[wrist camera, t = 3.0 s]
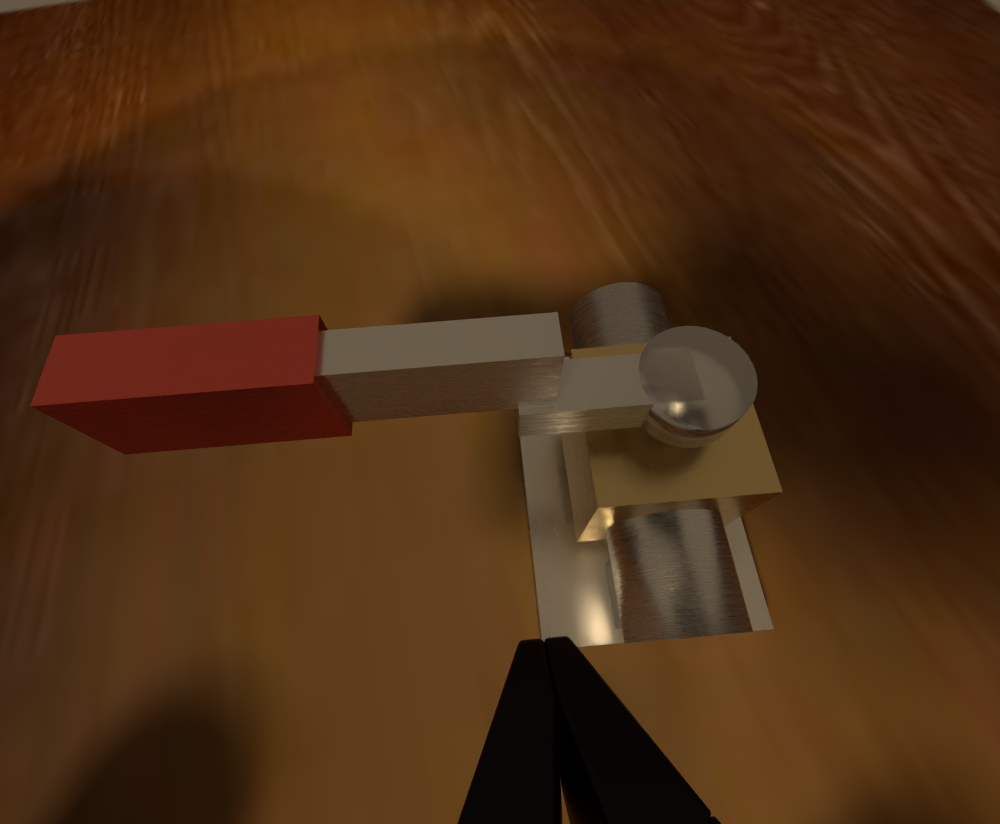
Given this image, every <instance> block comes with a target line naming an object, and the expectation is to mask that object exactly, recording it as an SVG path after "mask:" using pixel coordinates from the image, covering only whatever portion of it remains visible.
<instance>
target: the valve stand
mask: <svg viewBox="0 0 1000 824" xmlns="http://www.w3.org/2000/svg"><path fill="white" fill-rule="evenodd" d="M569 324H570V330H571V335H572V341H573V347H574V349H571V352H570V357H564V360H565V359H577V358H589V357H602V356H614V355H626V354H639V353H642V351H643V350H644V348H645V346H646V345H647V343H648V342H649V341H650V340H651V339H652V338H653V337H655V336H656V335H657V334H659V333H661V332H663V331H665V330H667V329H670V328H669V325H668V321H667V318H666V314H665V310H664V307H663V303H662V299H661V296H660V294H659V293H658V291H657V290H656V289H654V288H653V287H651V286H649V285H647V284H643V283H638V282H621V283H614V284H610V285H606V286H603V287H601V288H598V289H596V290H594V291H592V292H590V293H588V294H587V295H585V296H584V297H582V298H581V299H580V300H579V301H578V302H577V303H576V304H575V305H574V306H573V308H572V310H571V312H570V315H569ZM729 338H730V339H731V337H729ZM519 446H520V455H521V464H522V474H523V483H524V493H525V502H526V511H527V521H528V530H529V540H530V549H531V558H532V568H533V577H534V586H535V596H536V605H537V615H538V624H539V633H540V639H542V640H543V641H545V639H546V638H549V637H559V636H567V637H569V638H570V639H571V640H572V641H573V643H574V644H575V645H576V646H577V647H583V646H594V645H605V644H616V643H633V642H645V641H657V640H668V639H680V638H691V637H702V636H713V635H723V634H734V633H745V632H753V631H758V630H769V629H773V625H772V622H771V618H770V615H769V612H768V608H767V605H766V601H765V598H764V594H763V591H762V588H761V584H760V581H759V577H758V574H757V571H756V567H755V564H754V560H753V557H752V553H751V550H750V547H749V543H748V540H747V536H746V533H745V530H744V526H743V523H742V519H741V516H742V515H744V514H746V513H748V512H749V511H751V510H753V509H754V508H756V507H758V506H760V505H761V504H763V503H765V502H767V501H768V500H770V499H772V498H773V497H775V496H777V495H779V494H780V493H782V492H783V491H782V488H781V485H780V482H779V479H778V476H777V473H776V470H775V467H774V464H773V461H772V458H771V455H770V452H769V449H768V446H767V443H766V440H765V437H764V434H763V431H762V428H761V425H760V422H759V419H758V416H757V413H756V411H755V408H754V405H753V404H752V406H751V407H750V408H749V410H748V411H747V412H746V413H745V414H744V415H743V416H742V417H741V418H740V419H739V420H738V421H737V422H736V423H735V424H734V425H733V426H732V427H731V428H730V429H729V430H728V431H727V432H726V433H725V434H724V435H723V436H722V437H721V438H720V439H718V440H717V441H715V442H713V443H711V444H709V445H706V446H703V447H697V448H680V447H675V446H671V445H668V444H665V443H663V442H661V441H659V440H657V439H655V438H654V437H652V436H651V435H649V434H648V433H647V432H646V431H645V430H643V429H642V428H641V427H631V428H619V429H607V430H595V431H583V432H571V433H559V434H547V435H535V436H523V437H519Z"/></svg>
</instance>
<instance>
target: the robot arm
mask: <svg viewBox="0 0 1000 824" xmlns="http://www.w3.org/2000/svg"><path fill="white" fill-rule="evenodd" d="M560 780H561V784H560ZM561 786H562V791H563V795H564V800H565V804H566V809H567V813H568V817H569V821H570V824H721V823H720V822H719V821H718V819H717V818H716V817H714V816H712V817H711V812H710V810H709V809H708V808H707V806H706V805H705V804H704V803H703V801H702V800H701V799H700V798H699V796H698V795H697V794H696V793H695V792H694V790H693V789H692V788H691V787H690V785H689V784H688V783H687V782H686V780H685V779H684V778H683V777H682V776H681V774H680V773H679V772H678V771H677V769H676V768H675V767H674V766H673V764H672V763H671V762H670V761H669V760H668V758H667V757H666V756H665V755H664V753H663V752H662V751H661V750H660V748H659V747H658V746H657V745H656V744H655V742H654V741H653V740H652V739H651V737H650V736H649V735H648V734H647V732H646V731H645V730H644V729H643V727H642V726H641V725H640V724H639V723H638V721H637V720H636V719H635V718H634V716H633V715H632V714H631V713H630V711H629V710H628V709H627V708H626V707H625V705H624V704H623V703H622V702H621V700H620V699H619V698H618V697H617V695H616V694H615V693H614V692H613V691H612V689H611V688H610V687H609V686H608V684H607V683H606V682H605V681H604V679H603V678H602V677H601V676H600V675H599V673H598V672H597V671H596V670H595V668H594V667H593V666H592V665H591V663H590V662H589V661H588V660H587V659H586V657H585V656H584V655H583V654H582V652H581V651H580V650H579V649H578V647H577V646H576V645H575V644H574V643H573V641H572V640H571V639H570V638H569V637H567V636H559V637H549V638H546V639H545V641H543V640H542V639H530V640H522V641H520V642H519V644H518V646H517V649H516V652H515V655H514V658H513V661H512V664H511V667H510V670H509V673H508V676H507V679H506V682H505V685H504V688H503V691H502V694H501V697H500V699H499V702H498V705H497V708H496V711H495V714H494V717H493V720H492V723H491V726H490V729H489V732H488V735H487V738H486V741H485V744H484V747H483V750H482V753H481V756H480V759H479V762H478V765H477V768H476V771H475V774H474V776H473V779H472V782H471V785H470V788H469V791H468V794H467V797H466V800H465V803H464V806H463V809H462V812H461V815H460V818H459V821H458V824H562V802H561Z"/></svg>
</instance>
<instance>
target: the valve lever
mask: <svg viewBox="0 0 1000 824" xmlns="http://www.w3.org/2000/svg"><path fill="white" fill-rule="evenodd" d="M564 357H565V355H564V348H563V342H562V336H561V330H560V324H559V317H558V312H552V313H540V314H527V315H514V316H502V317H489V318H477V319H464V320H451V321H439V322H426V323H413V324H401V325H388V326H376V327H363V328H350V329H338V330H328V329H327V328H326V326H325V324H324V322H323V321H322V319H321V317H320V315H313V316H300V317H287V318H275V319H262V320H249V321H237V322H224V323H211V324H198V325H186V326H173V327H160V328H148V329H135V330H122V331H109V332H97V333H84V334H71V335H59V336H55V339H54V342H53V344H52V347H51V350H50V353H49V355H48V358H47V361H46V364H45V367H44V369H43V372H42V375H41V378H40V380H39V383H38V386H37V389H36V392H35V394H34V397H33V400H32V403H31V405H30V406H31V407H33V408H35V409H37V410H39V411H41V412H43V413H44V414H46V415H48V416H50V417H52V418H54V419H56V420H58V421H60V422H62V423H64V424H66V425H68V426H70V427H72V428H74V429H76V430H78V431H80V432H82V433H84V434H86V435H88V436H90V437H92V438H94V439H96V440H98V441H100V442H102V443H103V444H105V445H107V446H109V447H111V448H113V449H115V450H117V451H119V452H121V453H123V454H137V453H149V452H161V451H173V450H185V449H197V448H209V447H221V446H233V445H245V444H257V443H269V442H281V441H293V440H305V439H317V438H329V437H341V436H352V422H360V421H373V420H385V419H397V418H409V417H421V416H433V415H445V414H457V413H469V412H482V411H494V410H506V409H516V419H517V428H518V437H523V436H535V435H547V434H559V433H571V432H583V431H595V430H607V429H619V428H631V427H641V428H642V429H643V430H645V431H646V432H647V433H648V434H649V435H651V436H652V437H654V438H655V439H657V440H659V441H661V442H663V443H665V444H668V445H671V446H675V447H680V448H697V447H703V446H706V445H709V444H711V443H713V442H715V441H717V440H718V439H720V438H721V437H722V436H723V435H724V434H725V433H726V432H727V431H728V430H729V429H730V428H731V427H732V426H733V425H734V424H735V423H736V422H737V421H738V420H739V419H740V418H741V417H742V416H743V415H744V414H745V413H746V412H747V411H748V410H749V408H750V407H751V406H752V404H753V402H754V400H755V397H756V394H757V386H758V382H757V375H756V371H755V368H754V366H753V363H752V362H751V360H750V358H749V356H748V355H747V354H746V353H745V351H744V350H743V349H742V348H741V347H740V346H739V345H738V344H737V343H735V342H734V341H733V340H732V339H730V338H729V337H727V336H725V335H723V334H721V333H719V332H717V331H715V330H712V329H708V328H704V327H699V326H679V327H674V328H670V329H667V330H665V331H663V332H661V333H659V334H657V335H656V336H655V337H653V338H652V339H651V340H650V341H649V342H648V343H647V345H646V346H645V348H644V350H643V351H642V353H639V354H626V355H614V356H602V357H589V358H577V359H565V360H564Z"/></svg>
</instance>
